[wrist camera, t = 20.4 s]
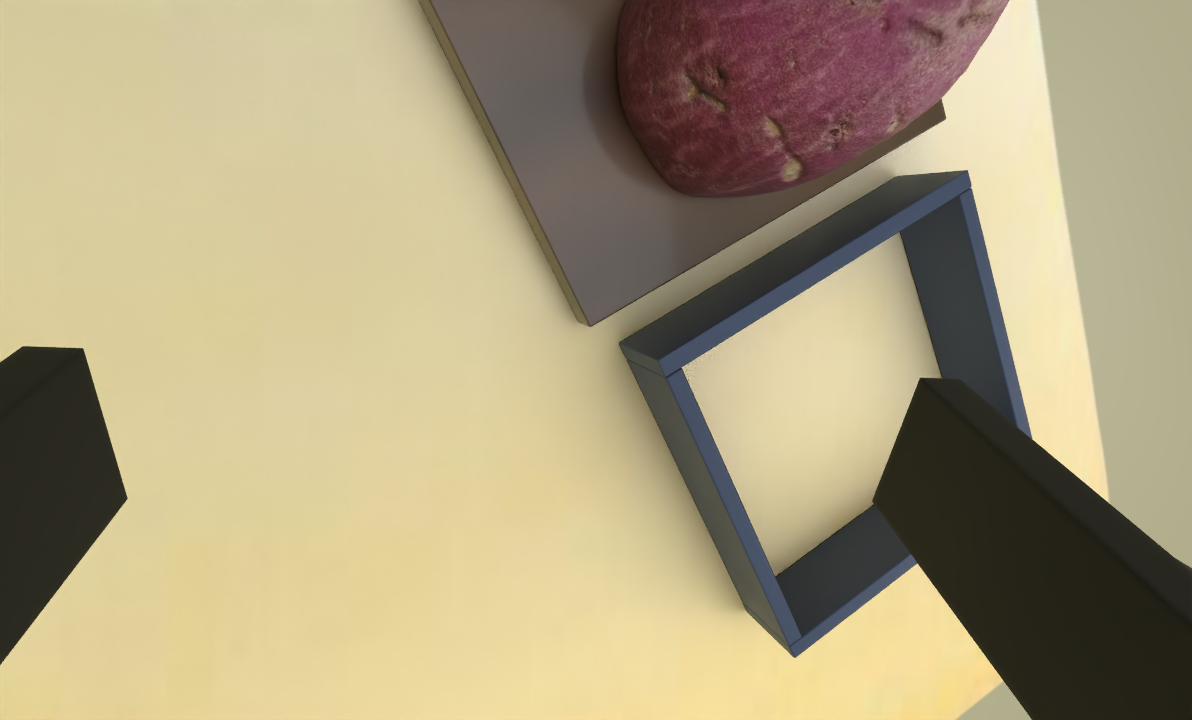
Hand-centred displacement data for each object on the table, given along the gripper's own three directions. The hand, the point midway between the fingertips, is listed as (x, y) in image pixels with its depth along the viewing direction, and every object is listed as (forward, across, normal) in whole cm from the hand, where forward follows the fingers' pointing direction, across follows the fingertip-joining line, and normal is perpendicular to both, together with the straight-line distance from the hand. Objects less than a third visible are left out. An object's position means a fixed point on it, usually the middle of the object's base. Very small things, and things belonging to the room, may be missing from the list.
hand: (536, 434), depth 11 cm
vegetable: (+19, +8, +5) cm, 21 cm away
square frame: (+18, +16, -10) cm, 26 cm away
